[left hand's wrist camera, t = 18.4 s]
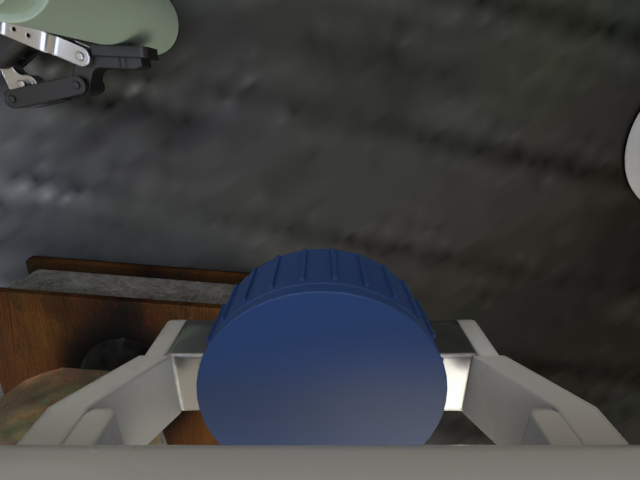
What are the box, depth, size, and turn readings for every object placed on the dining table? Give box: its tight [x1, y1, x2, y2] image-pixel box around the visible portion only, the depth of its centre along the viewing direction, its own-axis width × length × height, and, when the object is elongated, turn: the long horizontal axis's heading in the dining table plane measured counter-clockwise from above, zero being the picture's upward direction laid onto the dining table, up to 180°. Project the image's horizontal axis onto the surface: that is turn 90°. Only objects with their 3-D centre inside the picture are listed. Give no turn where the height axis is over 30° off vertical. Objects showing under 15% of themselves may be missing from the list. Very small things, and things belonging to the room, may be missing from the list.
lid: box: [196, 248, 448, 445], centre depth 10 cm, size 6×6×2 cm
